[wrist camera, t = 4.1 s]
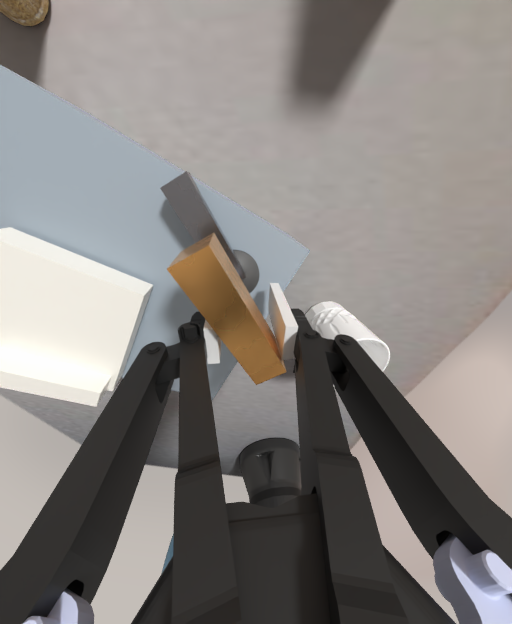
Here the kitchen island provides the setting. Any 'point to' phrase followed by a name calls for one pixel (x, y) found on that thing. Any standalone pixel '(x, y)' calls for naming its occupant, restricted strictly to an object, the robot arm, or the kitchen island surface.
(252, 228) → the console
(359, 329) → the white cup
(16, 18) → the sprinkles bottle
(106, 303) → the cover
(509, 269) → the kitchen island surface
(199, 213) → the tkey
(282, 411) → the kitchen island surface
